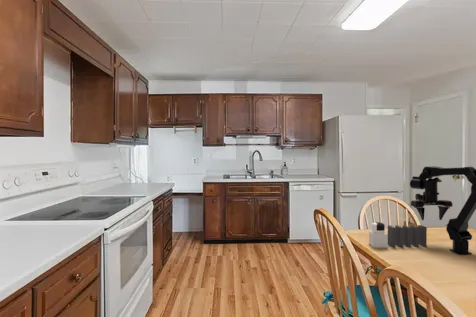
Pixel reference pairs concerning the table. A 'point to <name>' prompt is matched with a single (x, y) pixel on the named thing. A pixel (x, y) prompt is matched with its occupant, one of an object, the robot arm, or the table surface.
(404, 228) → the domino
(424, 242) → the domino
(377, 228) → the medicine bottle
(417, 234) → the domino
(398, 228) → the domino
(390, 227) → the domino
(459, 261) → the table surface
